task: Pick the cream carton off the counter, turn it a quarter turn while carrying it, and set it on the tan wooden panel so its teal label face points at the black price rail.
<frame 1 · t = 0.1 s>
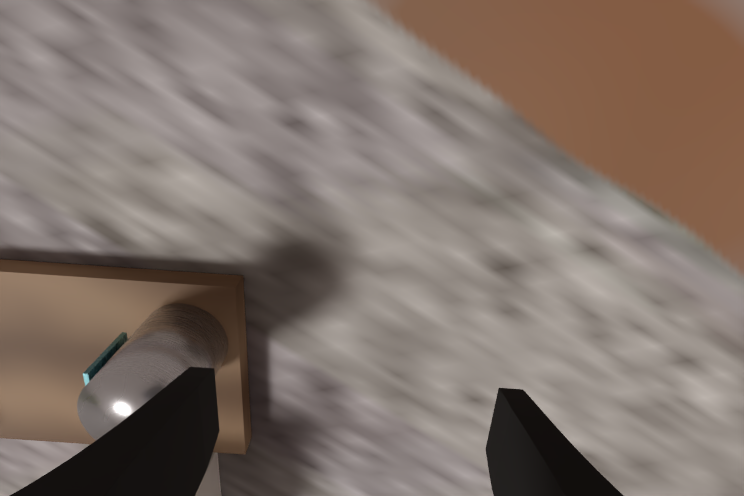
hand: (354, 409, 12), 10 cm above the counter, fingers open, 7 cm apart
tin: (185, 340, 21), point 1 cm above the counter, touching tan wooden panel
tan wooden panel: (91, 352, 23), on the counter
carton: (186, 482, 27), on the counter
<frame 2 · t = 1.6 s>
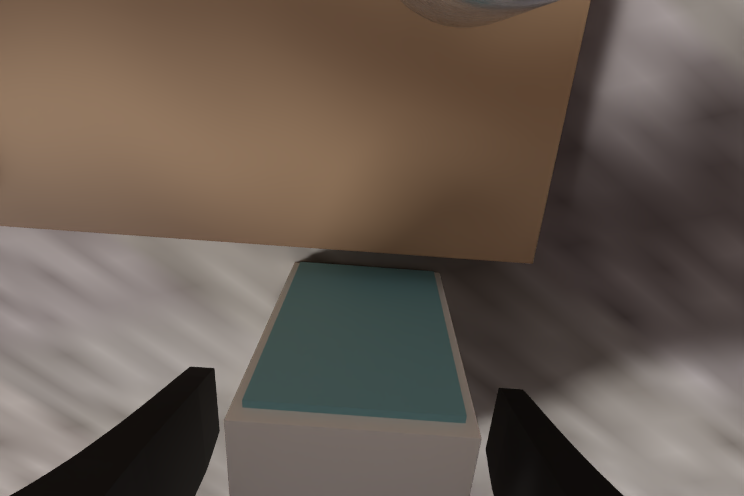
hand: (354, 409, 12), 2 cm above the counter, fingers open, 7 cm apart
tan wooden panel: (205, 13, 10), on the counter
carton: (361, 357, 14), on the counter
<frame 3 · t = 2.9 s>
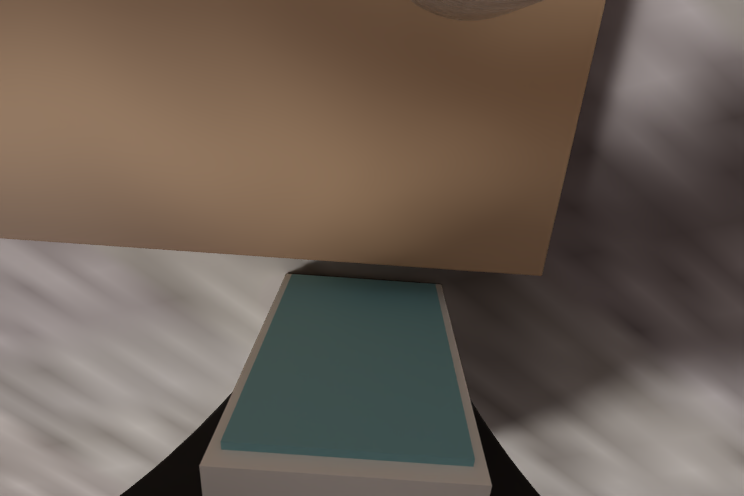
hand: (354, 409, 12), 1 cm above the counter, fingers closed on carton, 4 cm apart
tan wooden panel: (187, 6, 9), on the counter
carton: (357, 373, 13), on the counter, touching gripper
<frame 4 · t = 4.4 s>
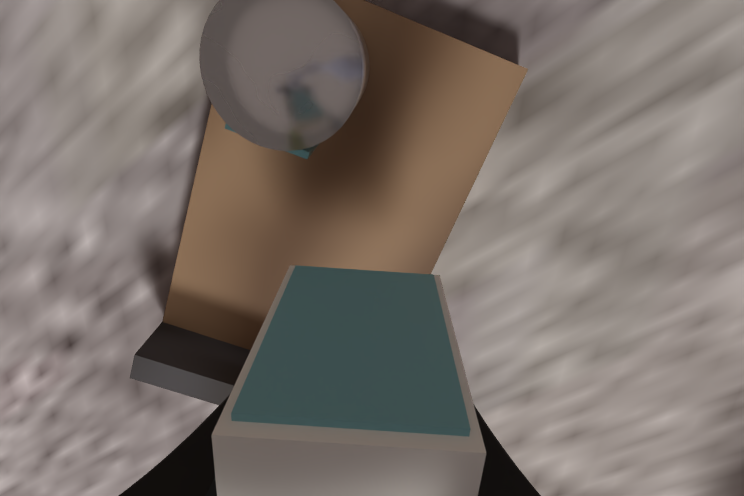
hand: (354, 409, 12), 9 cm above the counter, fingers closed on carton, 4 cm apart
tin: (311, 65, 16), point 1 cm above the counter, touching tan wooden panel
tan wooden panel: (321, 214, 19), on the counter
carton: (358, 363, 13), point 7 cm above the counter, touching gripper
when the fingers open (4 cm above the counter, at t = 6.3 s): carton stays where it is, resting on tan wooden panel.
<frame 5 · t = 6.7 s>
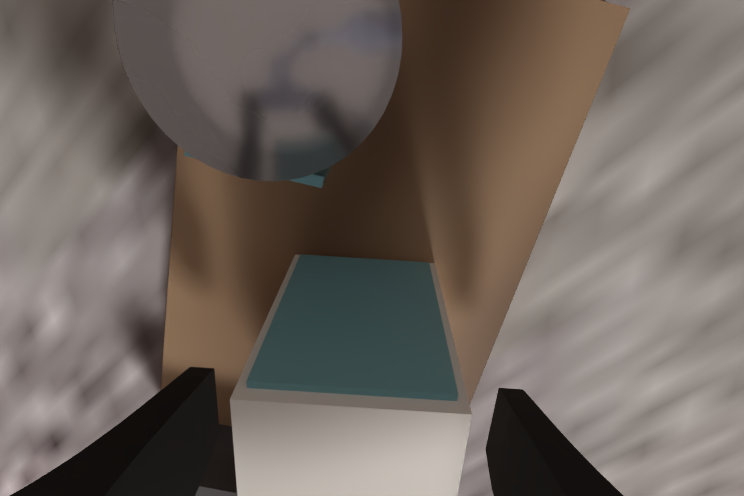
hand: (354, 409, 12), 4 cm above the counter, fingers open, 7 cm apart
tin: (311, 47, 11), point 1 cm above the counter, touching tan wooden panel
tan wooden panel: (348, 251, 14), on the counter
carton: (359, 346, 14), point 1 cm above the counter, touching tan wooden panel
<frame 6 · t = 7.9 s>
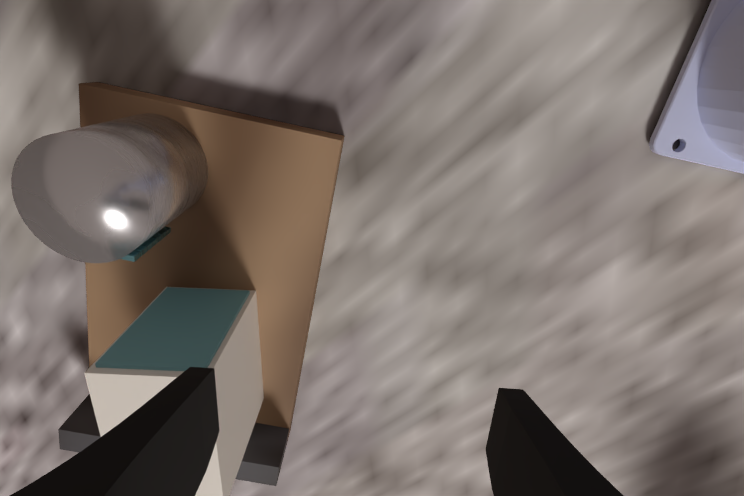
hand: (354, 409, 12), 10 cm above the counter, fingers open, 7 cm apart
tin: (157, 165, 18), point 1 cm above the counter, touching tan wooden panel
tan wooden panel: (209, 282, 21), on the counter
carton: (217, 345, 21), point 1 cm above the counter, touching tan wooden panel
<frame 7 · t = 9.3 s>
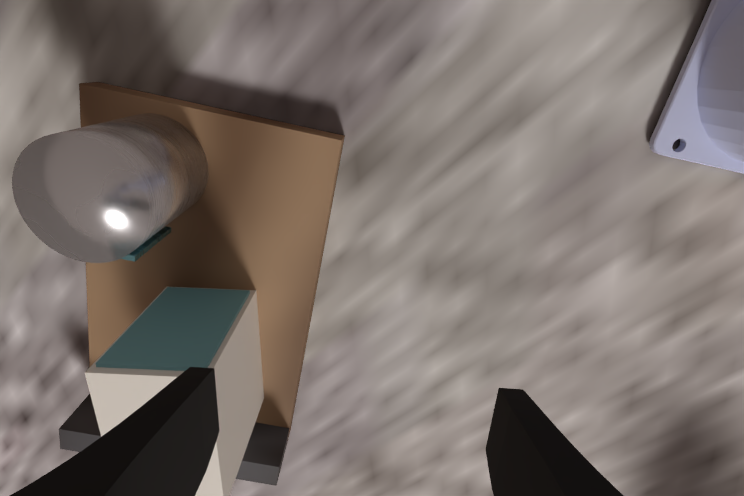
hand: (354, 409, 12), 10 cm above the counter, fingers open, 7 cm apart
tin: (158, 165, 18), point 1 cm above the counter, touching tan wooden panel
tan wooden panel: (209, 282, 21), on the counter
carton: (217, 345, 21), point 1 cm above the counter, touching tan wooden panel
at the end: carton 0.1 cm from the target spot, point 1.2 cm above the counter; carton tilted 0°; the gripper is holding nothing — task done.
